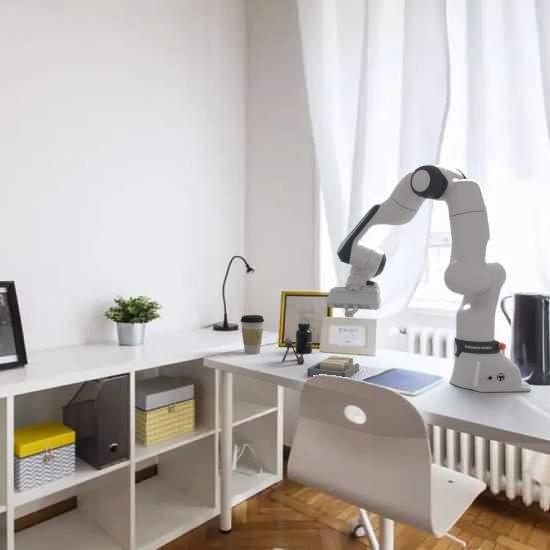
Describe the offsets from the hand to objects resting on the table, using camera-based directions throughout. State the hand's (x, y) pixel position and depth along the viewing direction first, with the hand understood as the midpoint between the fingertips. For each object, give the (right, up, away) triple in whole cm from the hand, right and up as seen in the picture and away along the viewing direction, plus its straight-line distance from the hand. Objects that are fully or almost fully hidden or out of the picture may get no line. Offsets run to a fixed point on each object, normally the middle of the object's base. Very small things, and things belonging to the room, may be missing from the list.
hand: (348, 316), depth 178 cm
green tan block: (-3, -16, -5) cm, 17 cm away
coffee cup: (-36, -17, +22) cm, 46 cm away
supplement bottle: (-15, -17, +22) cm, 32 cm away
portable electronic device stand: (-20, -18, +5) cm, 28 cm away
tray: (-7, -18, -13) cm, 23 cm away
